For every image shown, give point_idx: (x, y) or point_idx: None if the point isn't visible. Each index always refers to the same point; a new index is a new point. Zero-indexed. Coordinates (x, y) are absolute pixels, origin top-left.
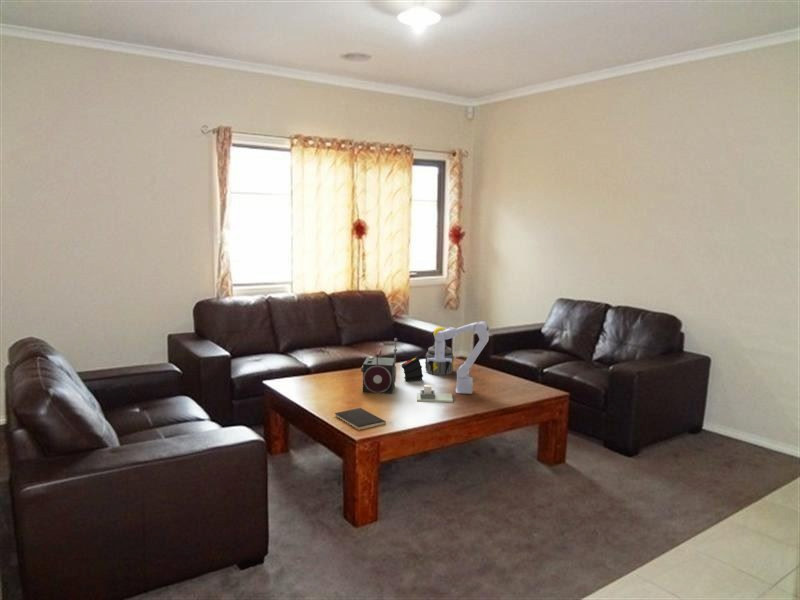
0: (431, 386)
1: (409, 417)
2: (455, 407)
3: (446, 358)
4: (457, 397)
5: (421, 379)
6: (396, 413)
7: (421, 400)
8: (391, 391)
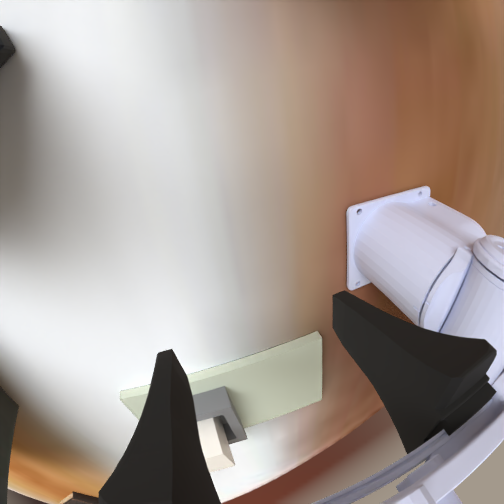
0: (232, 463)
1: None
2: (323, 418)
3: (493, 446)
4: None
5: (5, 58)
6: None
7: None
8: (15, 415)
